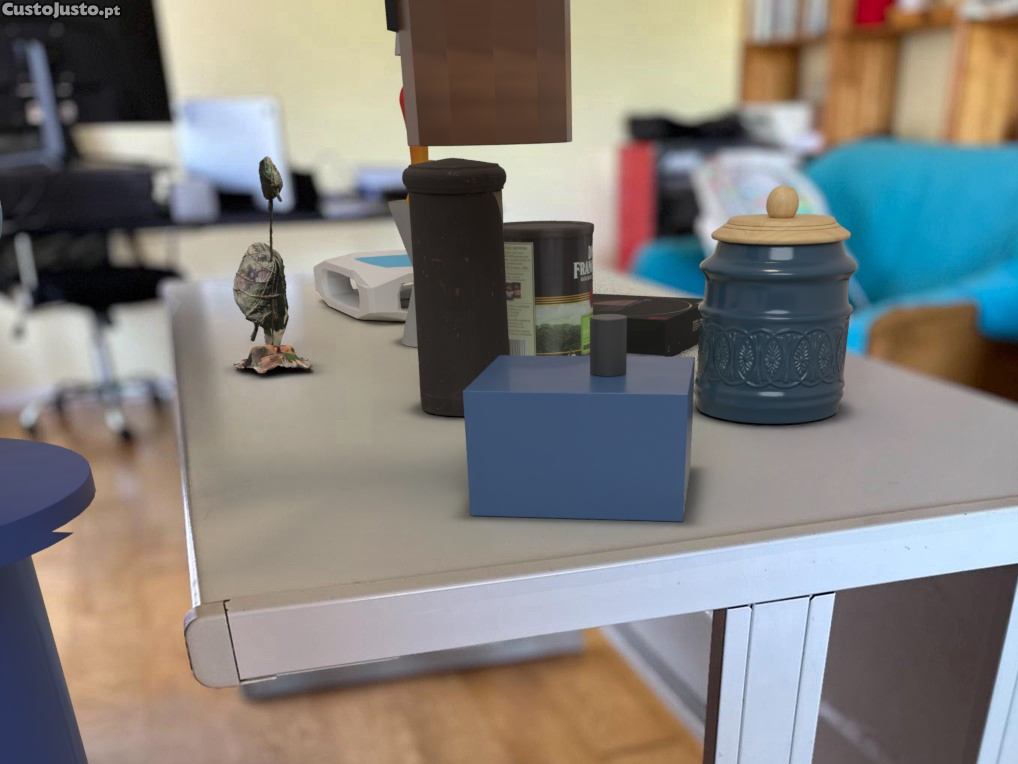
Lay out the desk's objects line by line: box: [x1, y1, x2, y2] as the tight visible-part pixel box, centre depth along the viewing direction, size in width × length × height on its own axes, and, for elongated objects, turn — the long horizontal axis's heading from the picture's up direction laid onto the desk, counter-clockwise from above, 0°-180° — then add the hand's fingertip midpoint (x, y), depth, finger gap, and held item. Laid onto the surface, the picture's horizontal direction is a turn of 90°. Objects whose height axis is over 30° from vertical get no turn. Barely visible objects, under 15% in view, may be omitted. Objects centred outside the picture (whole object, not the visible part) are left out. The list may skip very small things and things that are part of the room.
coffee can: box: [503, 220, 595, 356], centre depth 106 cm, size 10×10×14 cm
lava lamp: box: [387, 32, 435, 348], centre depth 121 cm, size 9×9×35 cm
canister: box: [694, 185, 859, 425], centre depth 92 cm, size 13×13×18 cm
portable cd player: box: [593, 293, 704, 357], centre depth 126 cm, size 16×17×4 cm
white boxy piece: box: [312, 248, 414, 323], centre depth 153 cm, size 21×28×6 cm
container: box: [401, 157, 510, 417], centre depth 94 cm, size 9×9×20 cm
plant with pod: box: [232, 156, 314, 374], centre depth 112 cm, size 8×11×20 cm
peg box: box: [463, 314, 696, 523], centre depth 73 cm, size 14×12×12 cm
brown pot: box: [396, 0, 573, 147], centre depth 70 cm, size 11×11×10 cm
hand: (411, 30), depth 69 cm, fingers closed on brown pot
